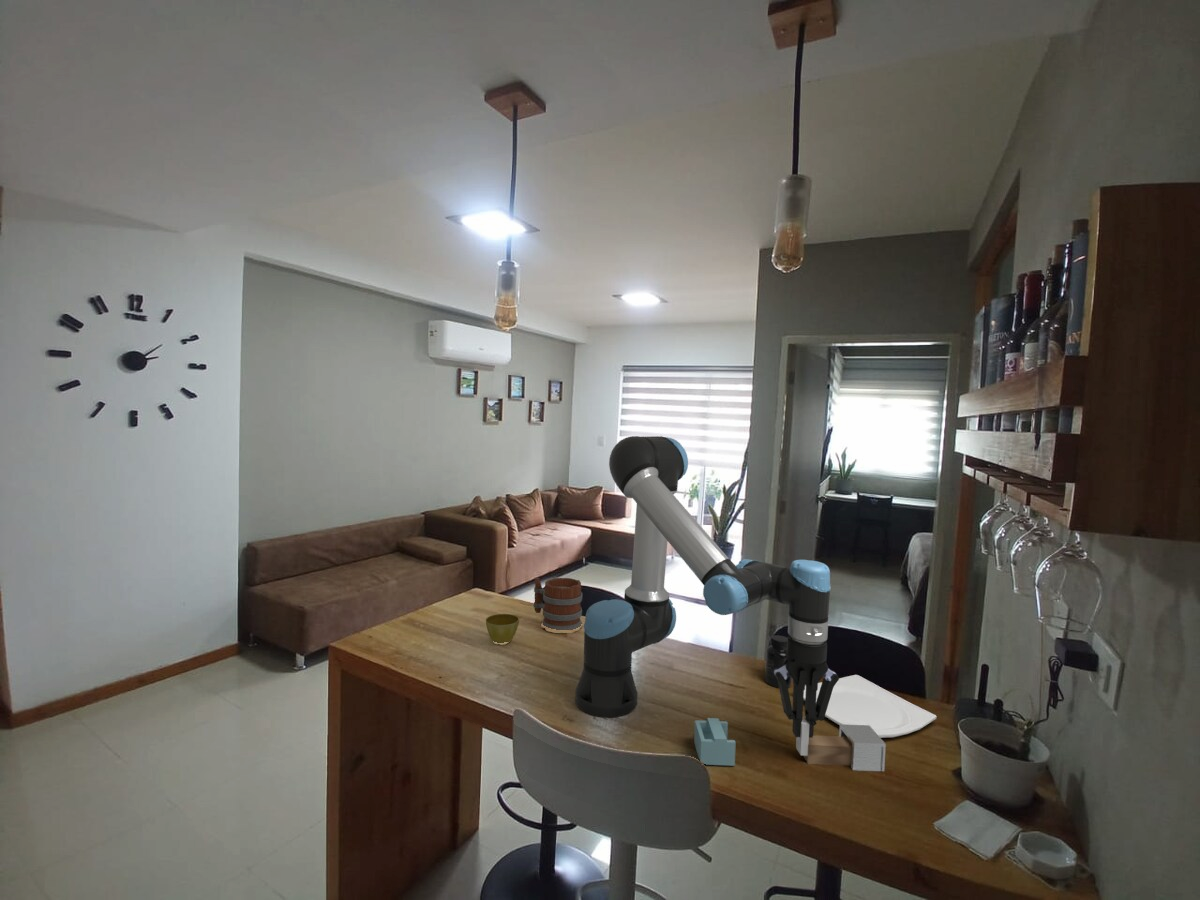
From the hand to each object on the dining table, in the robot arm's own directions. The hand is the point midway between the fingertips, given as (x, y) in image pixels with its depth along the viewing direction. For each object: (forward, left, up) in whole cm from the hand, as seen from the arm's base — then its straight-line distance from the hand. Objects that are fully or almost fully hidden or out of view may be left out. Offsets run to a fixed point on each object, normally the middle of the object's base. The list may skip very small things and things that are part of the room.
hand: (801, 751), depth 109 cm
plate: (+22, +20, -2) cm, 30 cm away
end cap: (+12, 0, -2) cm, 12 cm away
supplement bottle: (+6, +33, -2) cm, 34 cm away
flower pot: (-72, +53, -2) cm, 90 cm away
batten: (+7, 0, -2) cm, 7 cm away
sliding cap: (-18, 0, -2) cm, 18 cm away
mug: (-57, +69, -2) cm, 90 cm away
